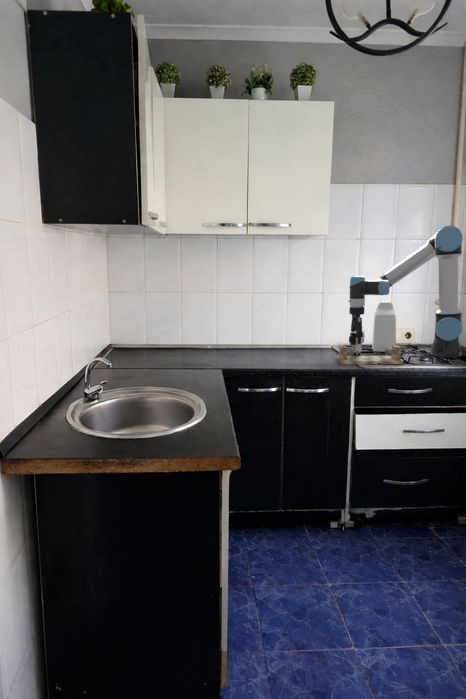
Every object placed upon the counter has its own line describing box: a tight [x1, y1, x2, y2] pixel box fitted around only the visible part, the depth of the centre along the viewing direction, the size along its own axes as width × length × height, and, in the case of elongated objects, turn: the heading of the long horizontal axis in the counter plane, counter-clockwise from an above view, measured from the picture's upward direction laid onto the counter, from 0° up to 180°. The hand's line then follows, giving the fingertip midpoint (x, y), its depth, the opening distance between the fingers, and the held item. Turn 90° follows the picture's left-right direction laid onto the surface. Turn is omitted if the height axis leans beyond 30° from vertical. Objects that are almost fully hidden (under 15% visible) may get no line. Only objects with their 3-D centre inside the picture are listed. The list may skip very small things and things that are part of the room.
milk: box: [371, 301, 397, 353], centre depth 278 cm, size 12×12×26 cm
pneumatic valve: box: [348, 330, 365, 354], centre depth 267 cm, size 6×12×12 cm, turn 150°
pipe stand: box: [336, 344, 404, 365], centre depth 253 cm, size 30×12×8 cm, turn 87°
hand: (356, 347), depth 267 cm, fingers closed on pneumatic valve, 12 cm apart
